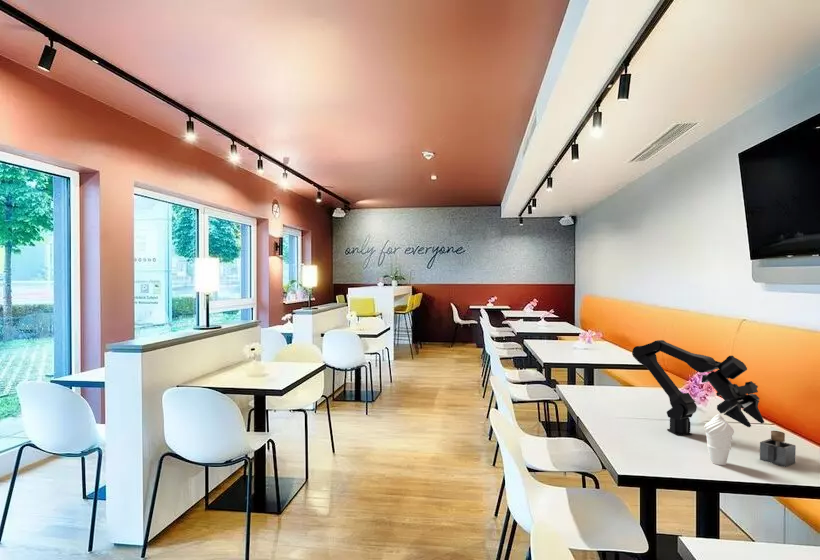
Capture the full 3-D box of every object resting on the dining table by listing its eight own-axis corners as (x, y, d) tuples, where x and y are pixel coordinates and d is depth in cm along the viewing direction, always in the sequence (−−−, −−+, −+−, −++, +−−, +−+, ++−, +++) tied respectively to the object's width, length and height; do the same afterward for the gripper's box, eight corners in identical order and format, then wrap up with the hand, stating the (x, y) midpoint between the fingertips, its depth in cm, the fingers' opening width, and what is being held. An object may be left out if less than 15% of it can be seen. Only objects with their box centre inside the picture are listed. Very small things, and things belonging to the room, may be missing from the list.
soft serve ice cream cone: (734, 470, 148) (735, 419, 148) (703, 464, 153) (704, 415, 153) (732, 461, 156) (733, 413, 156) (703, 456, 160) (704, 409, 160)
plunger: (764, 453, 157) (765, 431, 157) (772, 450, 160) (772, 429, 160) (783, 458, 153) (783, 435, 153) (790, 456, 155) (790, 433, 155)
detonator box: (758, 460, 157) (758, 442, 157) (770, 456, 161) (770, 438, 161) (783, 467, 151) (783, 449, 151) (795, 463, 155) (795, 445, 155)
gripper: (727, 376, 162) (763, 416, 152) (754, 371, 171) (789, 409, 161) (703, 393, 169) (735, 433, 159) (730, 388, 178) (762, 425, 168)
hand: (756, 424), depth 162 cm, fingers open, 9 cm apart
